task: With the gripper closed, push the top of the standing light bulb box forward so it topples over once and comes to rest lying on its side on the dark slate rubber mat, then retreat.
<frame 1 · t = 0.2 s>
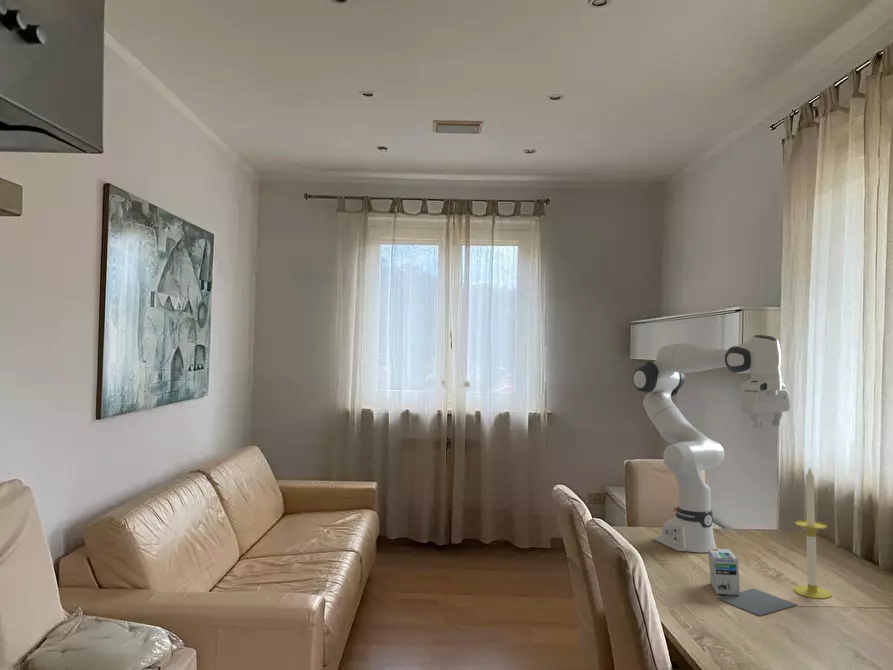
hand: (766, 426, 212), 47 cm above the table, fingers open, 8 cm apart
light bulb box: (724, 589, 196), on the table, touching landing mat
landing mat: (756, 602, 186), on the table
candle: (812, 593, 193), on the table
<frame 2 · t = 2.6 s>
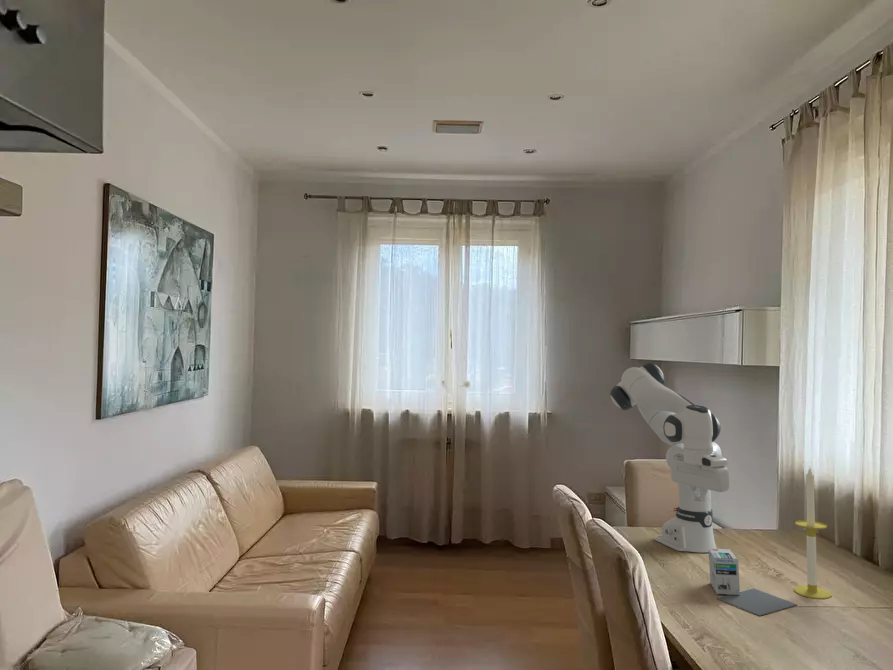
hand: (699, 500, 205), 25 cm above the table, fingers closed
nothing on the table moved.
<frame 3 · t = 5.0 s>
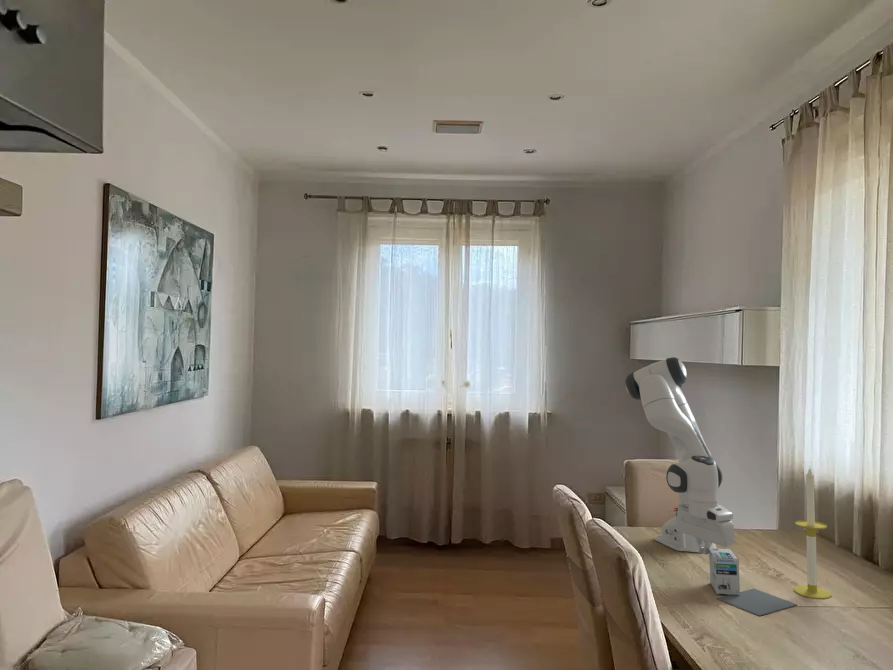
hand: (703, 553, 202), 9 cm above the table, fingers closed
light bulb box: (724, 589, 196), on the table, touching gripper, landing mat
everything else where it was.
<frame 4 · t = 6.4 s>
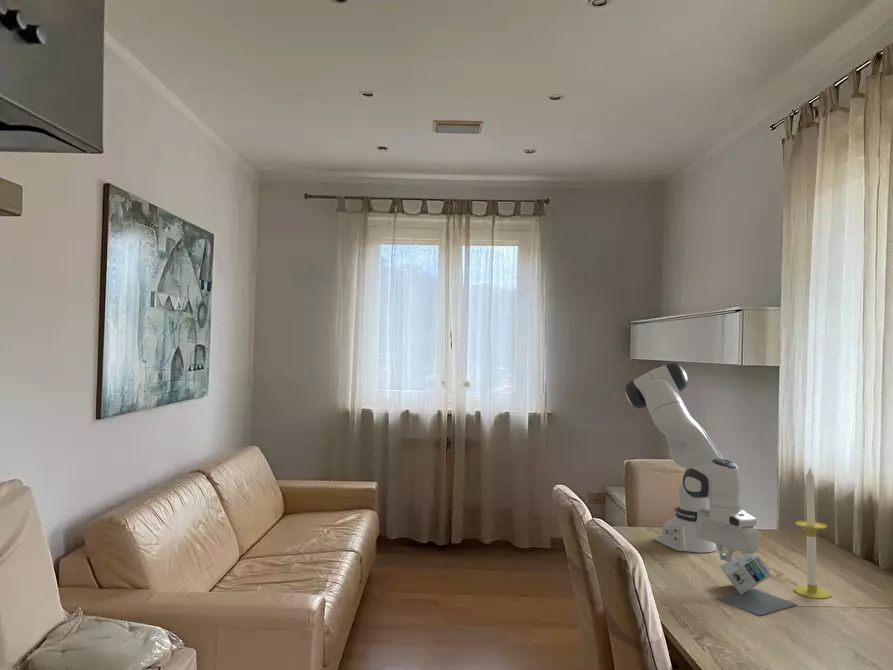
hand: (725, 560, 195), 9 cm above the table, fingers closed
light bulb box: (729, 580, 196), point 3 cm above the table, touching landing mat
everything else where it was.
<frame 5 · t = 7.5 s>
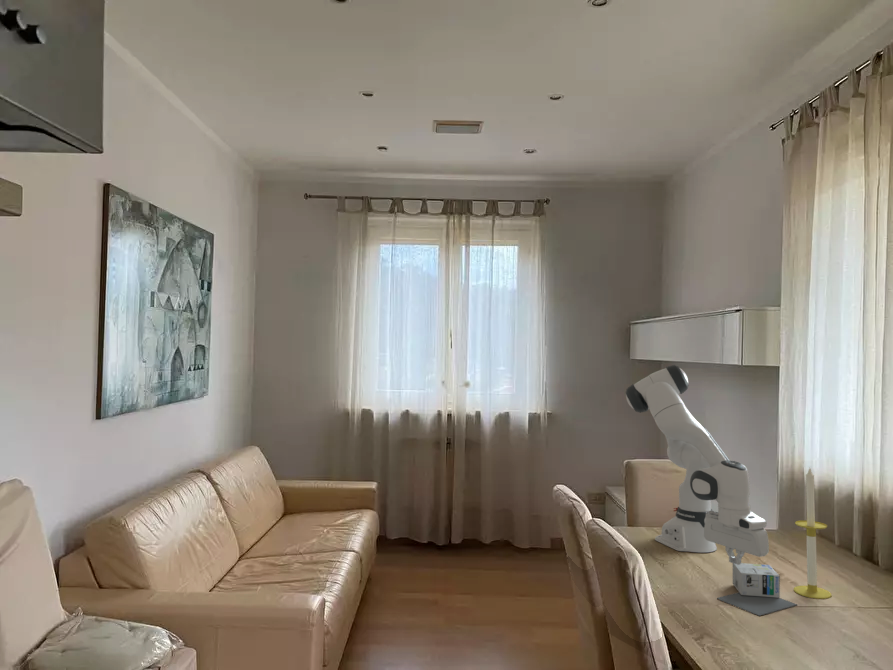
hand: (735, 563, 193), 9 cm above the table, fingers closed
light bulb box: (735, 578, 195), point 4 cm above the table, touching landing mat
everything else where it was.
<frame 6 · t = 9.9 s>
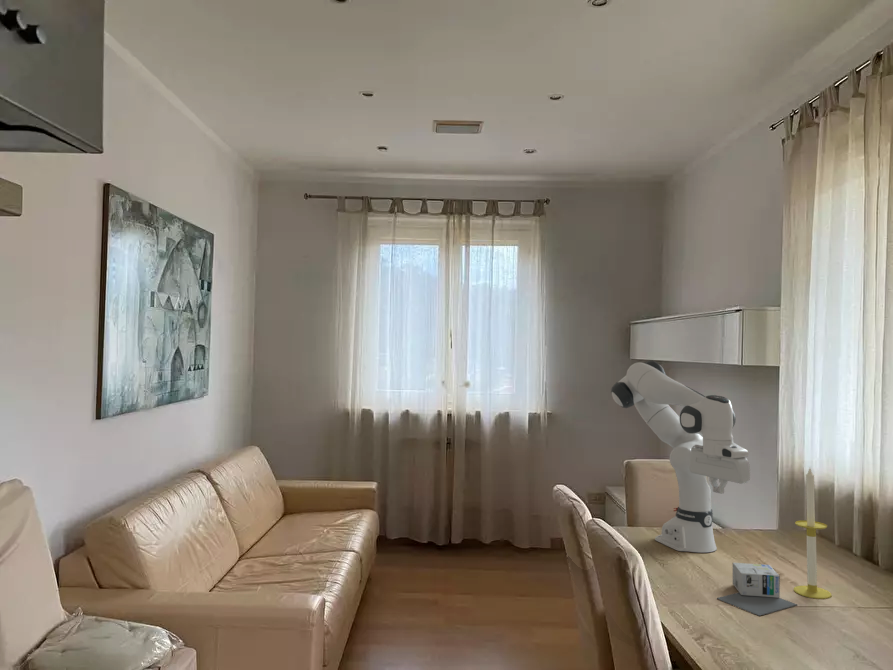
hand: (718, 492, 201), 28 cm above the table, fingers closed
nothing on the table moved.
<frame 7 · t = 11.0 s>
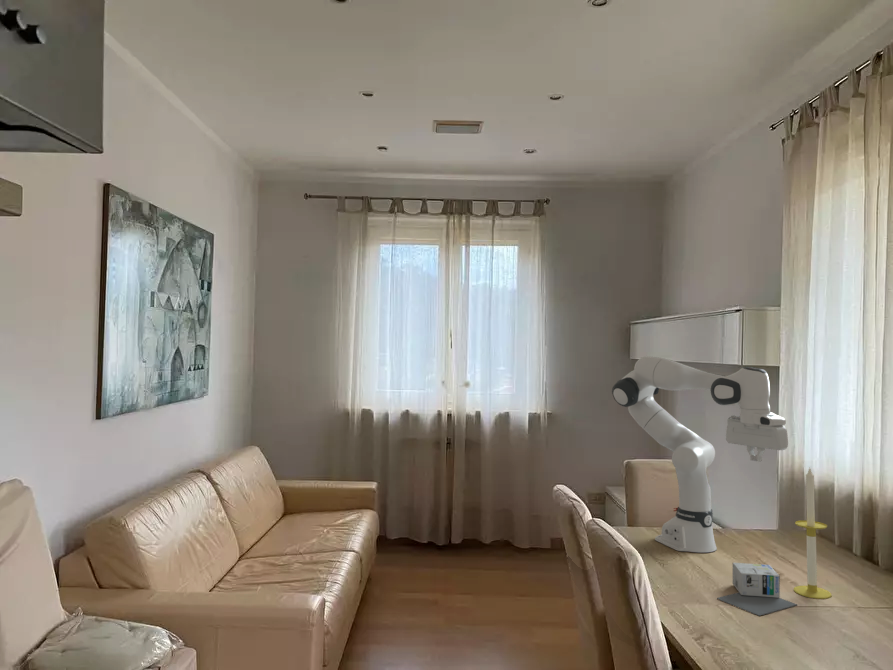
hand: (756, 460, 207), 37 cm above the table, fingers closed
nothing on the table moved.
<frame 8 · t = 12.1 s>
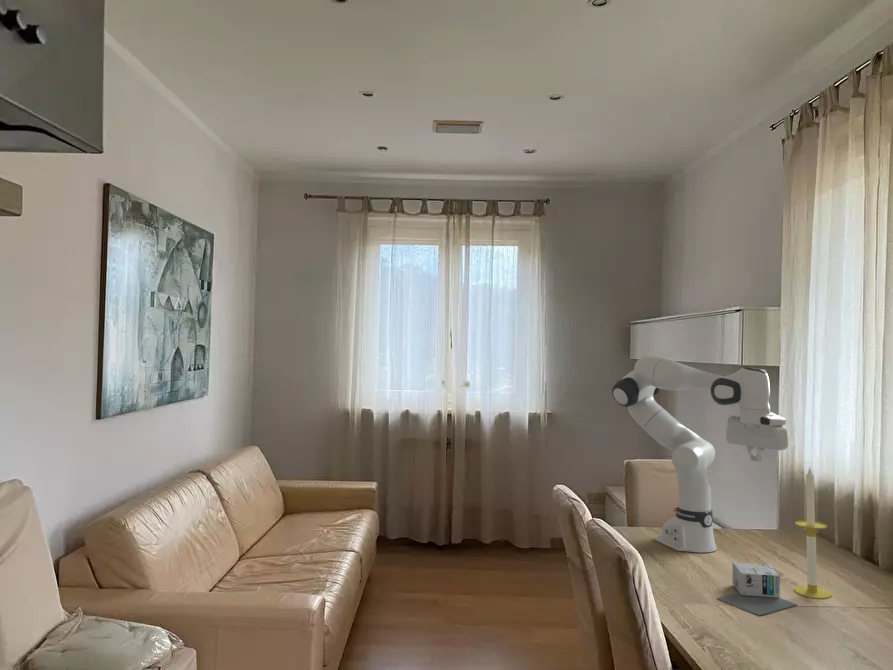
hand: (756, 460, 207), 37 cm above the table, fingers closed
nothing on the table moved.
at the end: light bulb box tilted 91°; light bulb box touching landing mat; light bulb box inside the target area (7.8 cm from its centre), point 3.7 cm above the table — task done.
